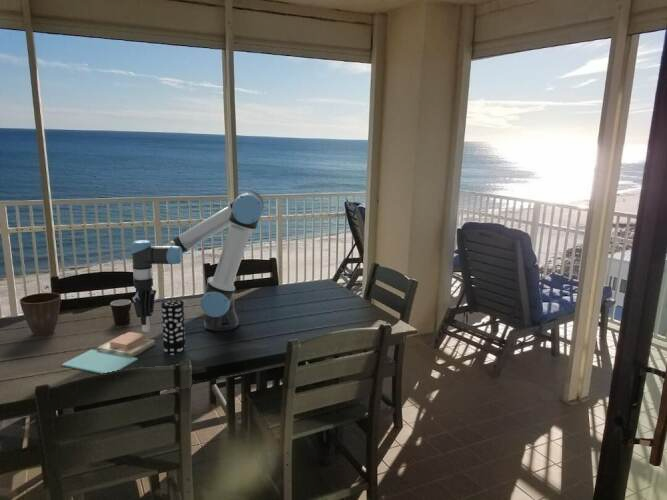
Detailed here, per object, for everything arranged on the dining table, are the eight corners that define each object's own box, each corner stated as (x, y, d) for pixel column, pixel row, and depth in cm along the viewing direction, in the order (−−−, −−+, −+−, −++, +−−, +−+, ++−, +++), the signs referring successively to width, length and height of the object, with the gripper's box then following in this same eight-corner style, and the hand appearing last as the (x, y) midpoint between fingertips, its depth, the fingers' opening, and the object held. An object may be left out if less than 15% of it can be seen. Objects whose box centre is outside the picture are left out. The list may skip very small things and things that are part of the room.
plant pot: (27, 329, 210) (23, 294, 206) (65, 325, 215) (62, 291, 212) (20, 342, 196) (16, 304, 193) (62, 337, 202) (58, 301, 199)
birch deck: (154, 344, 197) (154, 340, 197) (131, 358, 184) (130, 353, 184) (122, 339, 202) (122, 334, 202) (97, 352, 189) (97, 347, 189)
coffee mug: (125, 327, 214) (123, 306, 212) (107, 325, 216) (106, 304, 214) (140, 318, 226) (139, 298, 223) (123, 317, 227) (122, 296, 225)
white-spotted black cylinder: (166, 346, 196) (164, 299, 192) (187, 346, 197) (185, 299, 193) (161, 355, 188) (158, 306, 184) (182, 354, 189) (180, 306, 184)
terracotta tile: (145, 339, 198) (145, 334, 197) (126, 349, 187) (126, 344, 187) (129, 336, 200) (129, 331, 200) (110, 346, 190) (109, 341, 189)
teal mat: (137, 359, 184) (137, 358, 183) (110, 375, 170) (110, 374, 170) (91, 350, 190) (91, 349, 190) (62, 365, 177) (61, 364, 177)
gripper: (146, 272, 206) (148, 324, 211) (124, 280, 194) (128, 335, 199) (160, 274, 204) (163, 327, 209) (139, 282, 192) (143, 337, 197)
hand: (146, 330), depth 204 cm, fingers closed
